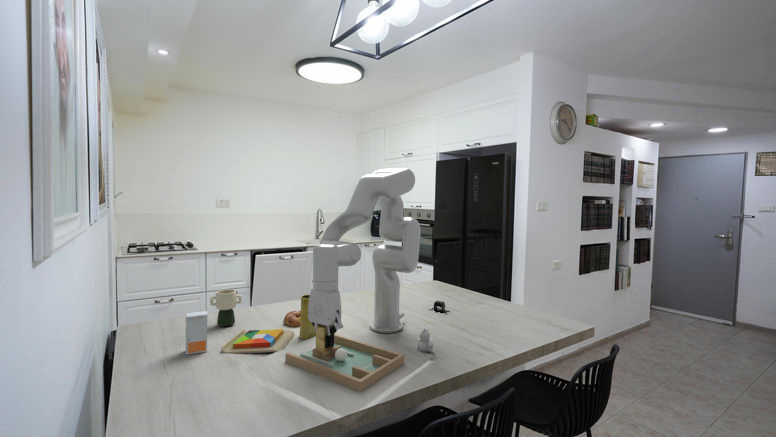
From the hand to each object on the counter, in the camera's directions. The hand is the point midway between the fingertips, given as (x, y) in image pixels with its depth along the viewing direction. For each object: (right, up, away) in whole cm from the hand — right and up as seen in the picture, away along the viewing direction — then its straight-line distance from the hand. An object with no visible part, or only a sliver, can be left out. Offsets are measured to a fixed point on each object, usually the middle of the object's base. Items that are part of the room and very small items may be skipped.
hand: (324, 344), depth 110 cm
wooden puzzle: (-24, -4, +12) cm, 27 cm away
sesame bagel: (-17, -3, +33) cm, 37 cm away
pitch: (+7, -5, -4) cm, 9 cm away
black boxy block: (+42, -4, +52) cm, 67 cm away
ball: (+5, -4, -4) cm, 7 cm away
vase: (-9, -4, +19) cm, 21 cm away
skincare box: (-41, -4, +4) cm, 41 cm away
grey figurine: (+31, -5, +7) cm, 32 cm away
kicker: (0, -3, 0) cm, 3 cm away
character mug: (-43, -3, +28) cm, 51 cm away
